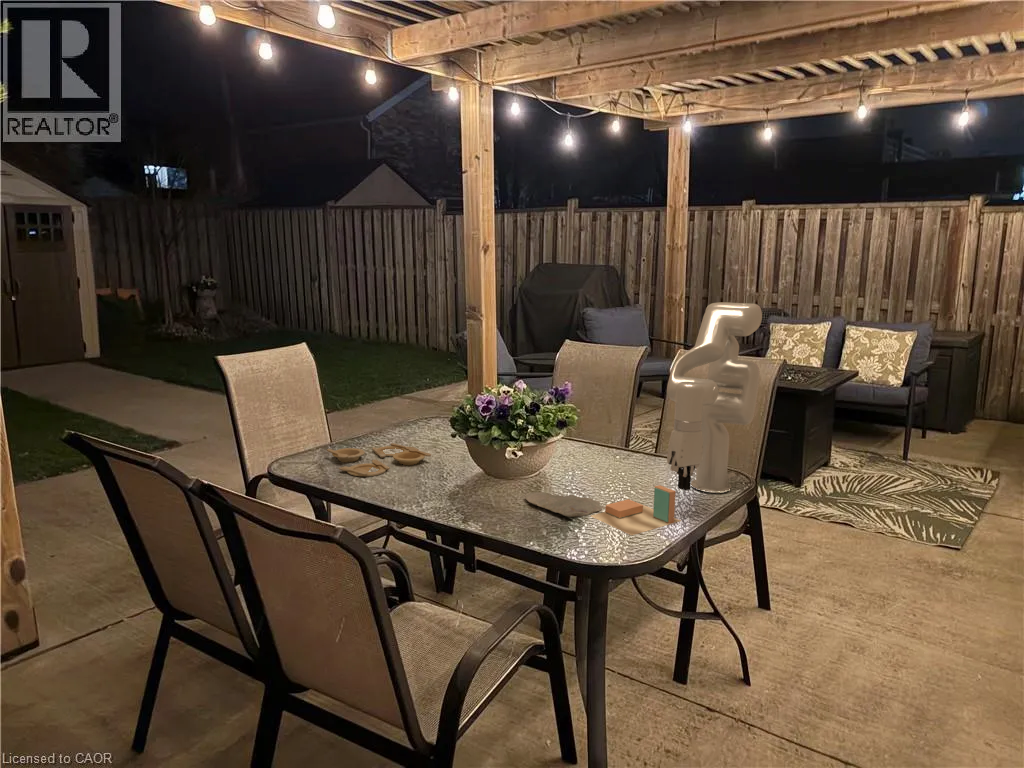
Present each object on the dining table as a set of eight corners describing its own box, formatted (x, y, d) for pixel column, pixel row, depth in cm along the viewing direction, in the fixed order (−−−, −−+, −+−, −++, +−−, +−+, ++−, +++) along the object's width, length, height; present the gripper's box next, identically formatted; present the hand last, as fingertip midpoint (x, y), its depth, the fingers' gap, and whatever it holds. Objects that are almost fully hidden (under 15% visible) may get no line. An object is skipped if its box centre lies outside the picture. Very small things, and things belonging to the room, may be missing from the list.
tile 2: (658, 515, 204) (659, 485, 202) (673, 522, 199) (675, 491, 197) (652, 517, 203) (653, 486, 201) (668, 523, 198) (669, 492, 196)
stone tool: (612, 509, 215) (541, 491, 228) (613, 498, 214) (542, 481, 228) (583, 527, 199) (508, 506, 212) (584, 515, 198) (508, 495, 211)
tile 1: (628, 499, 210) (605, 505, 205) (642, 505, 205) (619, 511, 200) (628, 506, 211) (605, 512, 206) (642, 512, 206) (619, 519, 201)
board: (638, 506, 214) (638, 503, 214) (681, 524, 200) (681, 520, 200) (589, 519, 203) (589, 515, 203) (631, 538, 190) (631, 535, 189)
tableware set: (354, 481, 236) (353, 470, 236) (316, 461, 259) (316, 450, 258) (442, 463, 258) (442, 452, 257) (401, 445, 280) (401, 435, 280)
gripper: (695, 420, 208) (691, 481, 211) (658, 426, 199) (655, 489, 202) (716, 425, 201) (712, 488, 204) (679, 431, 193) (675, 496, 196)
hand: (683, 488), depth 203 cm, fingers closed
